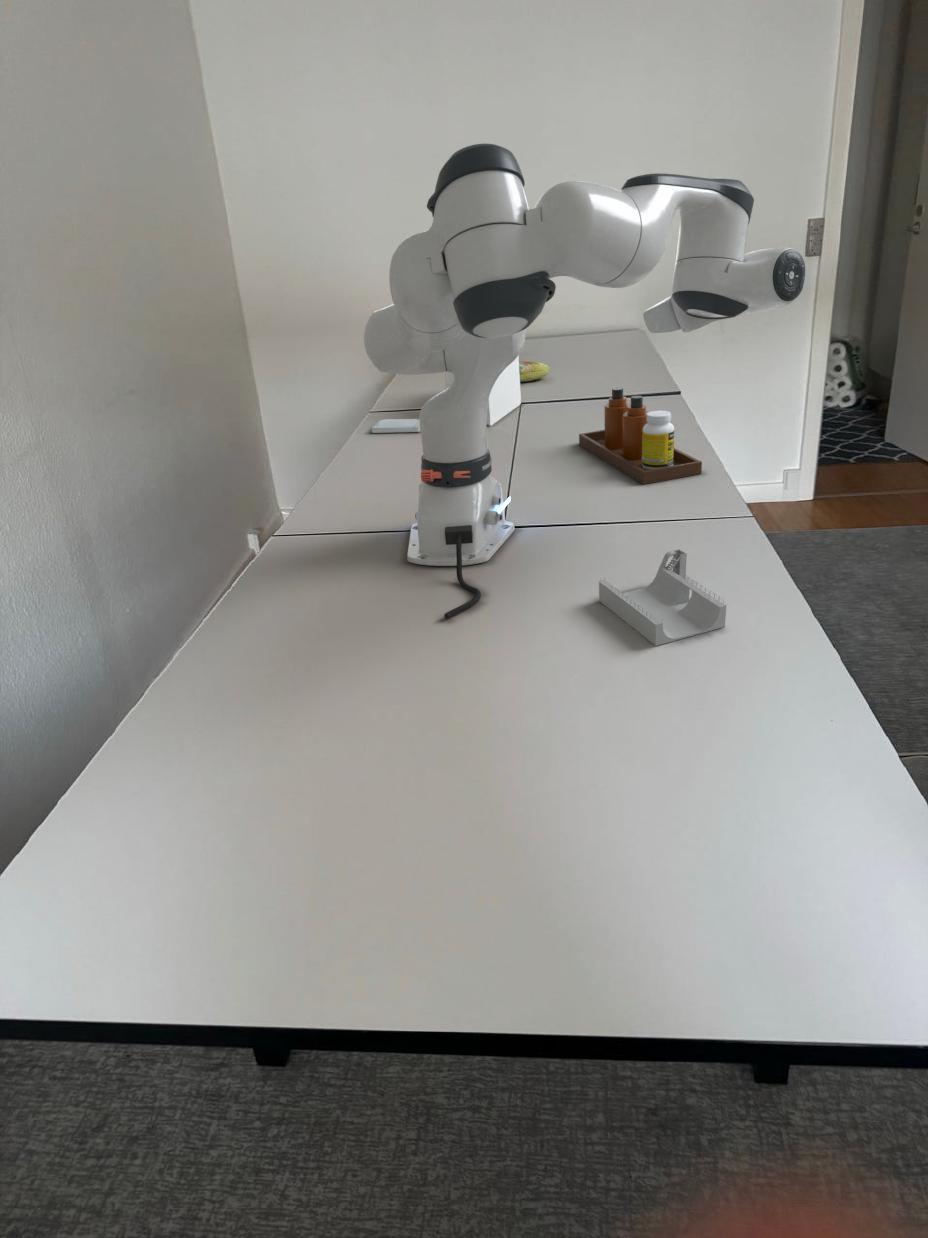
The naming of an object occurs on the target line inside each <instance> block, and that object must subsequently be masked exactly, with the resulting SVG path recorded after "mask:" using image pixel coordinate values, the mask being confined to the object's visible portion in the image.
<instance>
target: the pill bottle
mask: <svg viewBox="0 0 928 1238" xmlns="http://www.w3.org/2000/svg"><path fill="white" fill-rule="evenodd" d="M648 412H649V413H647V422H648V423H647V424H646V425H645V426H644V427H643V435H642V467H643V468H644V469H645V470H652V469H657V468H663V467H668V466H673V452H674V448H675V426H674V425H673V423H671V421H672V413H671V412H670V411H668V410H653V411H648Z"/></svg>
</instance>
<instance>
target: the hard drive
mask: <svg viewBox="0 0 928 1238" xmlns="http://www.w3.org/2000/svg"><path fill="white" fill-rule="evenodd" d="M371 432H372V434H392V433H393V434H395V433H396V434H397V433H421V430H420V421H419V418H395V419H394V418H392V419H386V418H385V419H380V420H378V421H377V423H376V424H374V425H372V427H371Z"/></svg>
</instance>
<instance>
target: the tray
mask: <svg viewBox="0 0 928 1238" xmlns="http://www.w3.org/2000/svg"><path fill="white" fill-rule="evenodd" d="M578 445H579V446H581V447H582V448H584V449H585V450H587V451H589V452H590V453H592V454H593V455H595V456H596V457H599V458H600V459H602V460H603V461H604V462H606V463H608V464H610V465H611V466H613V467H614V468H616V469H618V470H619V471H621V472H623V473H624V474H626V475H627V476H628V477H631V478H632V479H634V480H635V481H637V482H639V483H640V484H641V485H648V484H654V483H659V482H660V483H661V482H666V481H670V480H676V479H682V478H686V477H691V476H698V475H702V469H703V468H702V467H703V461H701V460H699V459H697V458H695V457H694V456H691V455H689V454H687V453H685V452H683V451H681V450H679V449H678V448H675V447H674V452H673V466H668V467H663V468H657V469H652V470H645V469H644V468H643V467H642V460H629V459H625V458H623V449H609V448H606V447H605V429H601V430H595V431H587V432H583V433H579V434H578Z"/></svg>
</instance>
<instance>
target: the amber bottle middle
mask: <svg viewBox="0 0 928 1238" xmlns="http://www.w3.org/2000/svg"><path fill="white" fill-rule="evenodd" d="M643 400H644V398H643V396H642V395H632V396H630V404H631V405H630V406H628V407H627V412H625V413H624V414H623V458H625V459H629V460H642V435H643V427H644V426H645V425H646V424H647V423H648V422H647V413H649V412H650V411H647V406H646V405H645V404H644V403H643V402H644V401H643Z"/></svg>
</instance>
